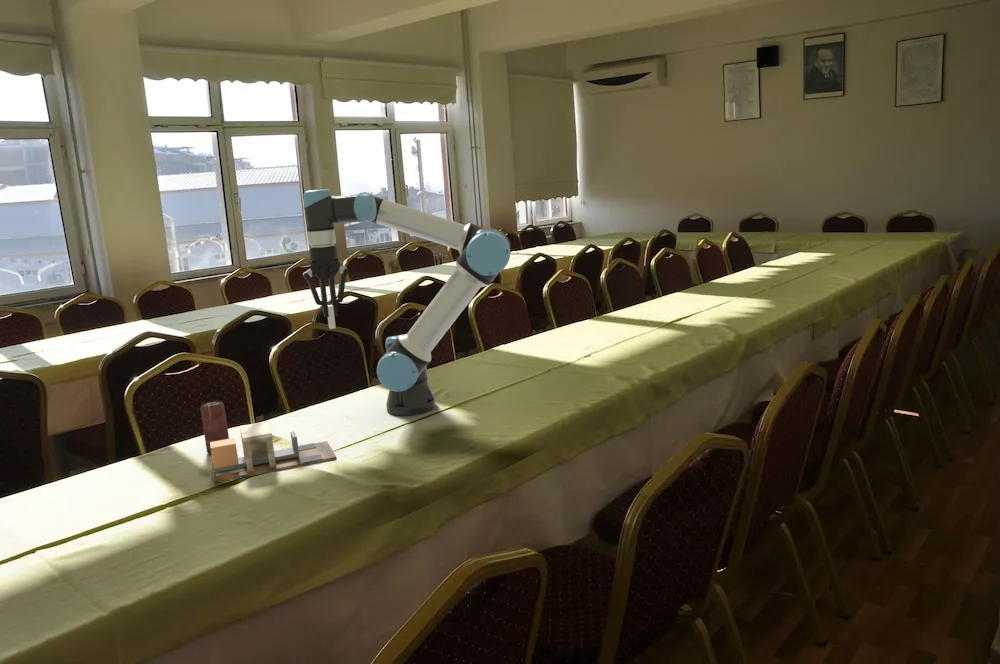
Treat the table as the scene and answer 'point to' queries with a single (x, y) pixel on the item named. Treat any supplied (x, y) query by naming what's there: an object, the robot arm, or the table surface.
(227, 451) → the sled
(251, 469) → the tunnel board
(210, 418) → the can
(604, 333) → the table surface
